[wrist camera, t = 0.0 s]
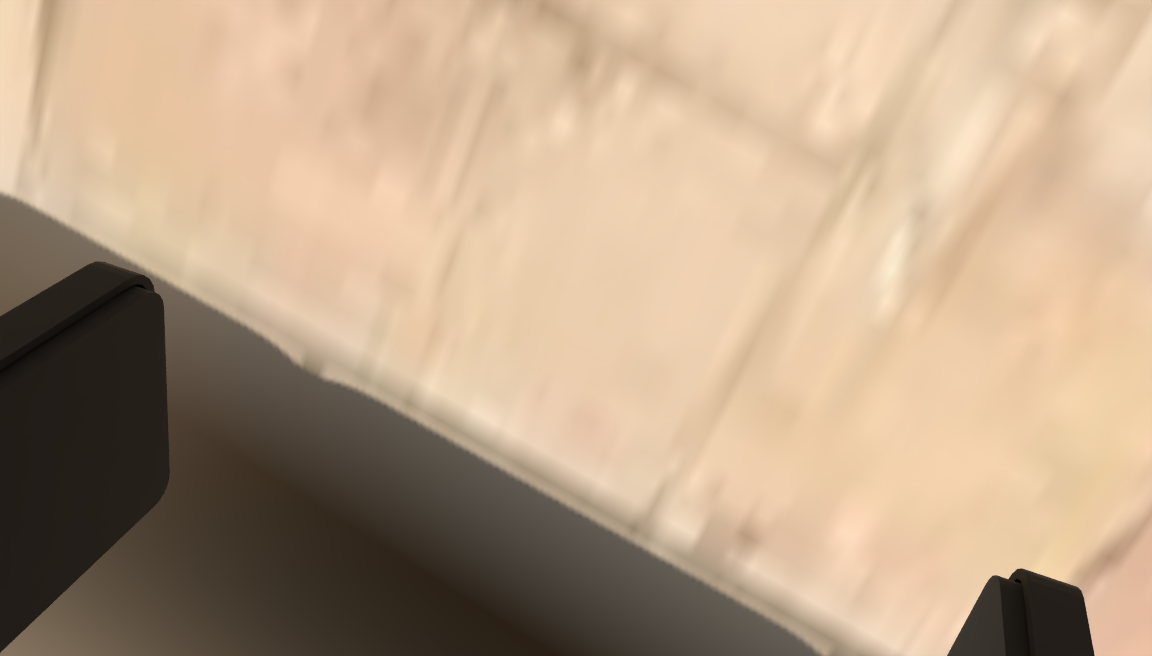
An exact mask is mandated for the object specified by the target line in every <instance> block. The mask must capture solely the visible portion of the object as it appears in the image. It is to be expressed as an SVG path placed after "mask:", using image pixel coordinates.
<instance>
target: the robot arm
mask: <svg viewBox="0 0 1152 656" xmlns="http://www.w3.org/2000/svg"><path fill="white" fill-rule="evenodd" d="M168 442H169V441H168V414H167V384H166V355H165V326H164V305H163V300H162V298H161V296H160V295H159V294H157V293H155V292H154V286H153V284H152V282H151V281H150V279H149V278H147V277H146V276H144V275H141V274H138V273H135V272H132V271H129V270H126V269H123V268H120V267H117V266H114V265H111V264H108V263H105V262H94V263H91V264H89V265H87V266H85V267H83V268H82V269H80V270H78V271H77V272H75V273H73V274H71V275H70V276H68V277H66V278H65V279H63V280H61V281H60V282H58V283H56V284H54V285H53V286H51V287H50V288H48V289H46V290H44V291H43V292H41V293H39V294H37V295H36V296H34V297H32V298H31V299H29V300H27V301H26V302H24V303H22V304H21V305H19V306H17V307H16V308H14V309H12V310H10V311H9V312H7V313H5V314H4V315H2V316H0V652H1V651H2V650H3V649H4V648H6V647H7V646H8V645H9V644H10V643H11V642H12V641H13V640H14V639H15V638H16V637H17V636H18V635H19V634H20V633H21V632H22V631H23V630H25V629H26V628H27V627H28V626H29V625H30V624H31V623H32V622H33V621H34V620H35V619H36V618H37V617H38V616H39V615H40V614H41V613H42V612H43V611H45V610H46V609H47V608H48V607H49V606H50V605H51V604H52V603H53V602H54V601H55V600H56V599H57V598H58V597H59V596H60V595H61V594H62V593H63V592H65V591H66V589H68V588H69V587H70V586H71V585H72V584H73V583H74V582H75V581H76V580H77V579H78V578H79V577H80V576H81V575H82V574H83V573H85V572H86V571H87V570H88V569H89V568H90V567H91V566H92V565H93V564H94V563H95V562H96V561H97V560H98V559H99V558H100V557H101V556H102V555H103V554H105V553H106V552H107V551H108V550H109V549H110V548H111V547H112V546H113V545H114V544H115V543H116V542H117V541H118V540H119V539H120V538H121V537H122V536H123V535H124V534H126V533H127V532H128V531H129V530H130V529H131V528H132V527H133V526H134V525H135V524H136V523H137V522H138V521H139V520H140V519H141V518H142V517H143V516H144V515H146V514H147V513H148V512H149V511H150V510H151V509H152V508H153V507H154V506H155V505H156V504H157V503H158V501H159V500H160V499H161V497H162V495H163V494H164V492H165V490H166V487H167V484H168V481H169V473H170V470H169V443H168ZM947 656H1094V650H1093V645H1092V640H1091V634H1090V629H1089V623H1088V618H1087V612H1086V607H1085V602H1084V597H1083V594H1082V591H1081V590H1080V589H1079V588H1078V587H1076V586H1073V585H1070V584H1067V583H1064V582H1061V581H1058V580H1055V579H1052V578H1049V577H1046V576H1043V575H1040V574H1037V573H1034V572H1031V571H1028V570H1025V569H1017V570H1016V571H1015V572H1014V573H1012V575H1011V576H1010V578H1009V579H1006V578H1003V577H1000V576H997V575H995V576H992V577H991V578H990V579H989V580H988V582H987V583H986V585H985V587H984V589H983V591H982V592H981V594H980V596H979V598H978V600H977V602H976V603H975V605H974V607H973V609H972V611H971V613H970V614H969V616H968V618H967V620H966V622H965V624H964V626H963V627H962V629H961V631H960V633H959V635H958V637H957V638H956V640H955V642H954V644H953V646H952V648H951V650H950V651H949V653H948V655H947Z"/></svg>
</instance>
